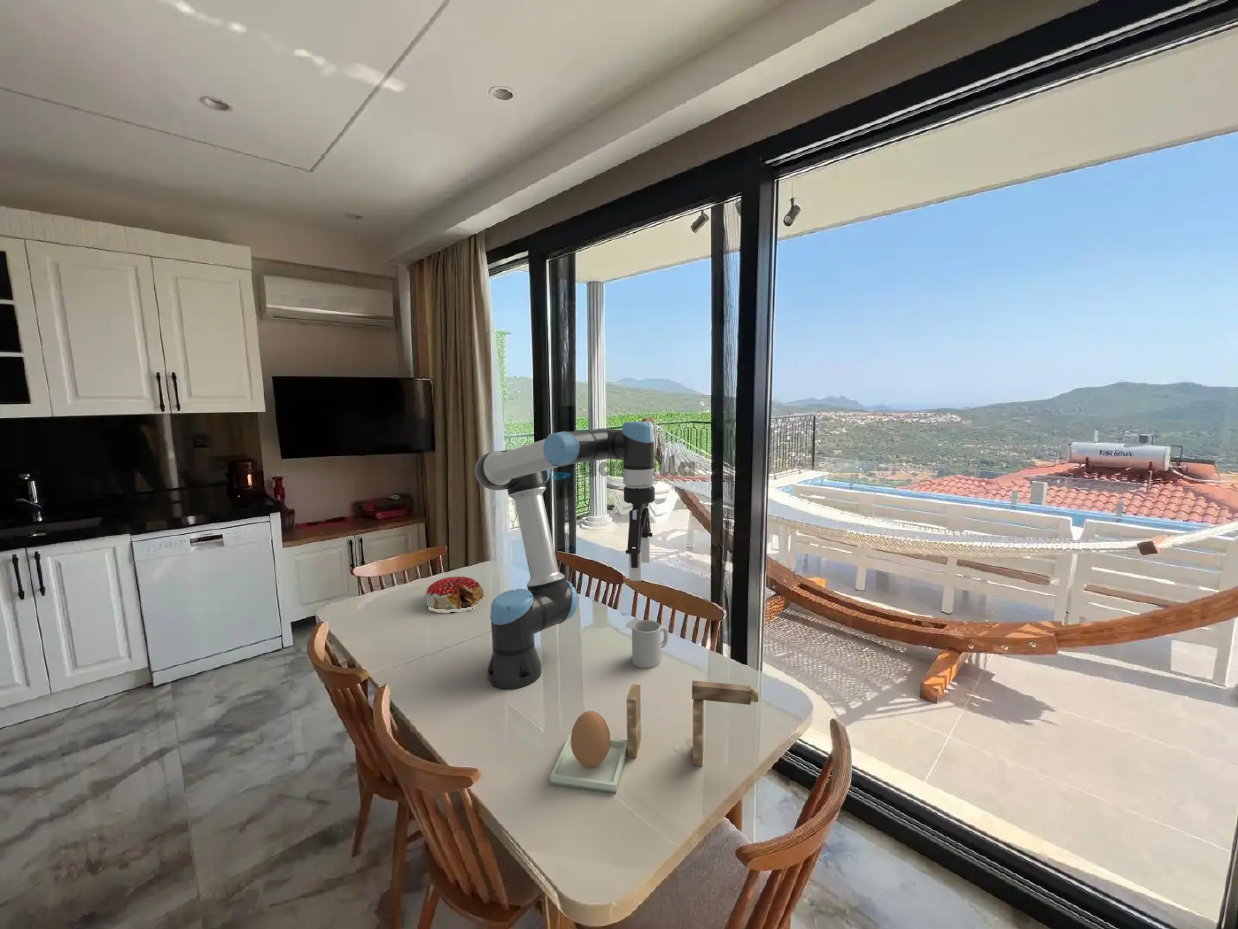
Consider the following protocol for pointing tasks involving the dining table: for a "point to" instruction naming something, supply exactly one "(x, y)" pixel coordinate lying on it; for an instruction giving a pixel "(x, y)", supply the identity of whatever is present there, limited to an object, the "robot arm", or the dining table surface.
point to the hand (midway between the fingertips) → (640, 571)
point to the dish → (590, 769)
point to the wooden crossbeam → (724, 692)
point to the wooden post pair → (635, 725)
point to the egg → (590, 739)
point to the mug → (647, 643)
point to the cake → (453, 593)
